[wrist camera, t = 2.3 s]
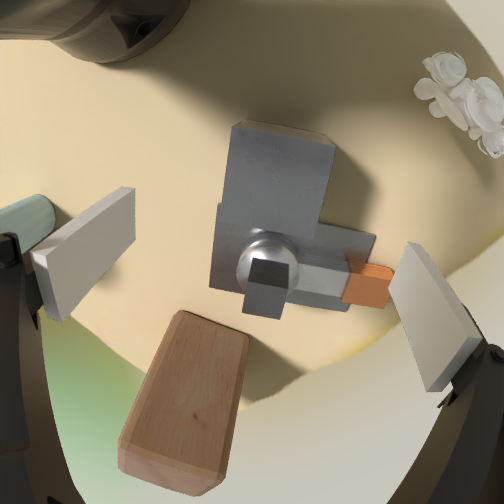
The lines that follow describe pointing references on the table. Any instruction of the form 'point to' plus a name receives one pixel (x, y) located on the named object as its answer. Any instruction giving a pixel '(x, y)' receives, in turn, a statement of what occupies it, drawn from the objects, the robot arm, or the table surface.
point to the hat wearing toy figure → (464, 100)
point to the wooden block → (186, 408)
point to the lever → (297, 268)
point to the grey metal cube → (276, 178)
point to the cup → (28, 220)
